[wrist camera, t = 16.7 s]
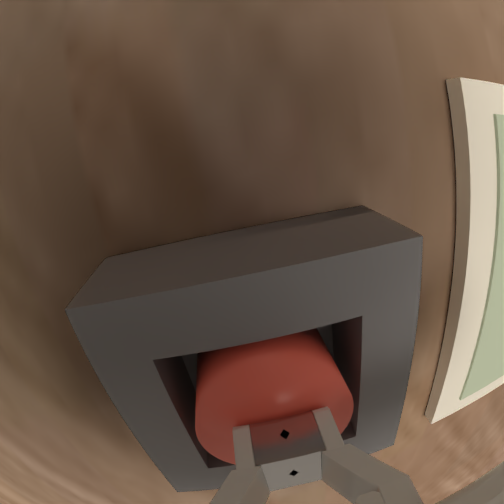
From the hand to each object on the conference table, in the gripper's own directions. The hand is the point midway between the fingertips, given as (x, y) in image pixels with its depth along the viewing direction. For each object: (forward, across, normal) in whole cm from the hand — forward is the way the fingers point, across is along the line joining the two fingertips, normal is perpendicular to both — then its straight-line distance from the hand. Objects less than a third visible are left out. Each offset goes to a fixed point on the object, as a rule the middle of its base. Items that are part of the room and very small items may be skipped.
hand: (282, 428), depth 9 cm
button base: (+5, 0, 0) cm, 5 cm away
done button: (+3, 0, 0) cm, 4 cm away
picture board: (+5, -22, 0) cm, 22 cm away
